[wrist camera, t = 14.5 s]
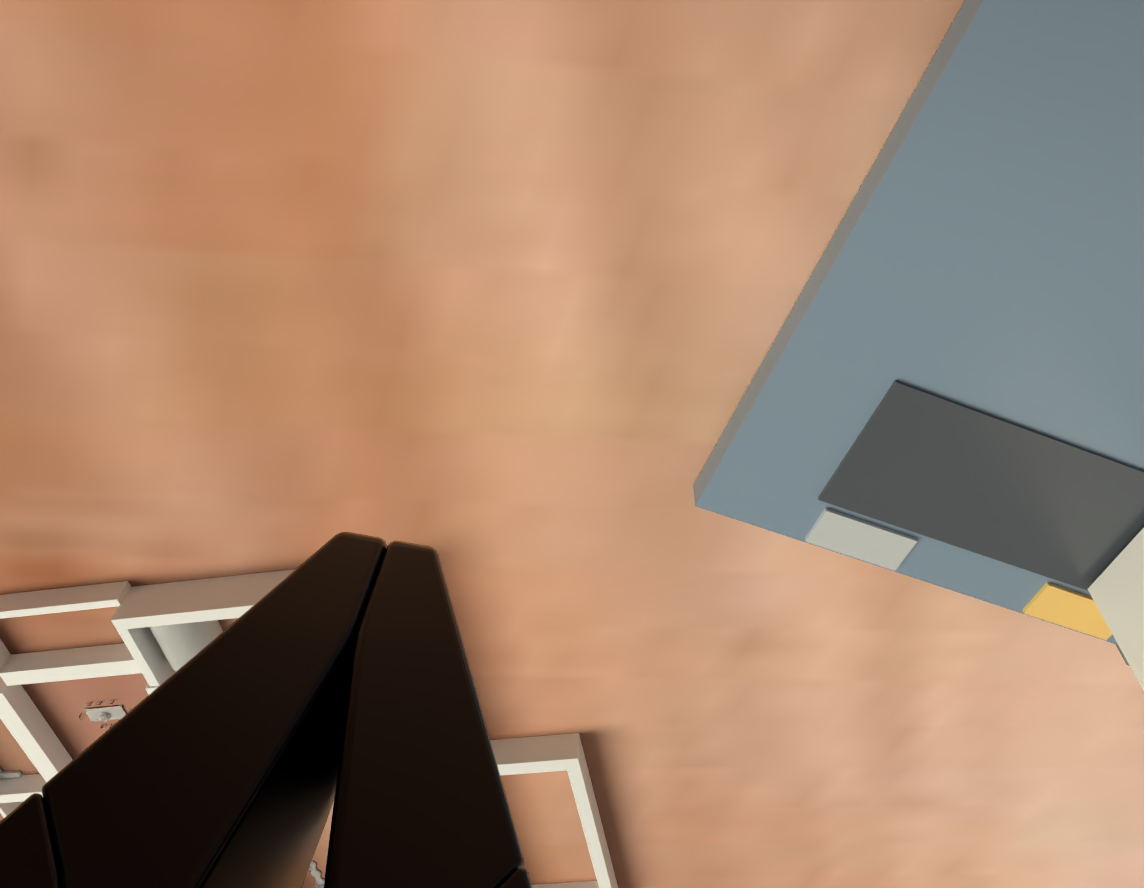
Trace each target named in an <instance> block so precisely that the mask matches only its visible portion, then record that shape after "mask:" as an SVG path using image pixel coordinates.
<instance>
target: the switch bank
mask: <svg viewBox="0 0 1144 888" xmlns="http://www.w3.org/2000/svg"><path fill="white" fill-rule="evenodd" d="M693 487H694V497H695V506H697V507H700V508H703V509H706V510H709V511H712V512H715V513H718V514H721V515H724V516H727V517H730V518H733V519H736V520H739V521H742V522H746V523H749V524H752V525H755V526H758V527H761V528H764V529H767V530H770V531H773V532H776V533H779V534H782V535H785V536H788V537H791V538H794V539H797V540H800V541H803V542H806V543H809V544H812V545H816V546H819V547H822V548H825V549H828V550H831V551H834V552H837V553H840V554H843V555H846V556H849V557H852V558H855V559H858V560H861V561H864V562H867V563H870V564H873V565H876V566H879V567H883V568H886V569H889V570H892V571H895V572H898V573H901V574H904V575H907V576H910V577H913V578H916V579H919V580H922V581H925V582H928V583H931V584H934V585H937V586H940V587H943V588H946V589H949V590H953V591H956V592H959V593H962V594H965V595H968V596H971V597H974V598H977V599H980V600H983V601H986V602H989V603H992V604H995V605H998V606H1001V607H1004V608H1007V609H1010V610H1013V611H1016V612H1020V613H1023V614H1026V615H1029V616H1032V617H1035V618H1038V619H1041V620H1044V621H1047V622H1050V623H1053V624H1056V625H1059V626H1062V627H1065V628H1068V629H1071V630H1074V631H1077V632H1080V633H1083V634H1086V635H1090V636H1093V637H1096V638H1099V639H1102V640H1105V641H1108V642H1111V643H1114V644H1116V646H1117V648H1118V650H1119V651H1120V653H1121V655H1122V657H1123V659H1124V661H1125V662H1126V664H1127V665H1129V664H1128V662H1127V660H1126V658H1125V656H1124V654H1123V653H1122V651H1121V649H1120V647H1119V645H1118V644H1117V642H1116V640H1115V638H1114V636H1113V635H1112V633H1111V631H1110V629H1109V627H1108V626H1107V624H1106V622H1105V620H1104V618H1103V616H1102V615H1101V613H1100V611H1099V609H1098V607H1097V606H1096V604H1095V602H1094V600H1093V598H1092V597H1091V595H1090V593H1089V591H1088V588H1089V587H1090V586H1091V585H1092V584H1093V583H1094V581H1095V580H1096V579H1097V578H1098V577H1099V576H1100V575H1101V574H1102V573H1103V572H1104V571H1105V569H1106V568H1107V567H1108V566H1109V565H1110V564H1111V563H1112V562H1113V561H1114V560H1115V558H1116V557H1117V556H1118V555H1119V554H1120V553H1121V552H1122V551H1123V550H1124V549H1125V548H1126V546H1127V545H1128V544H1129V543H1130V542H1131V541H1132V540H1133V539H1134V538H1135V537H1136V535H1137V534H1138V533H1139V532H1140V531H1141V530H1142V529H1143V528H1144V0H965V2H964V3H963V5H962V7H961V9H960V11H959V12H958V14H957V16H956V18H955V19H954V21H953V23H952V25H951V27H950V28H949V30H948V32H947V34H946V36H945V37H944V39H943V41H942V43H941V44H940V46H939V48H938V50H937V52H936V53H935V55H934V57H933V59H932V61H931V62H930V64H929V66H928V68H927V69H926V71H925V73H924V75H923V77H922V78H921V80H920V82H919V84H918V86H917V87H916V89H915V91H914V93H913V94H912V96H911V98H910V100H909V102H908V103H907V105H906V107H905V109H904V110H903V112H902V114H901V116H900V118H899V119H898V121H897V123H896V125H895V127H894V128H893V130H892V132H891V134H890V135H889V137H888V139H887V141H886V143H885V144H884V146H883V148H882V150H881V152H880V153H879V155H878V157H877V159H876V160H875V162H874V164H873V166H872V168H871V169H870V171H869V173H868V175H867V177H866V178H865V180H864V182H863V184H862V185H861V187H860V189H859V191H858V193H857V194H856V196H855V198H854V200H853V202H852V203H851V205H850V207H849V209H848V210H847V212H846V214H845V216H844V218H843V219H842V221H841V223H840V225H839V226H838V228H837V230H836V232H835V234H834V235H833V237H832V239H831V241H830V243H829V244H828V246H827V248H826V250H825V251H824V253H823V255H822V257H821V259H820V260H819V262H818V264H817V266H816V268H815V269H814V271H813V273H812V275H811V276H810V278H809V280H808V282H807V284H806V285H805V287H804V289H803V291H802V293H801V294H800V296H799V298H798V300H797V301H796V303H795V305H794V307H793V309H792V310H791V312H790V314H789V316H788V317H787V319H786V321H785V323H784V325H783V326H782V328H781V330H780V332H779V334H778V335H777V337H776V339H775V341H774V342H773V344H772V346H771V348H770V350H769V351H768V353H767V355H766V357H765V359H764V360H763V362H762V364H761V366H760V367H759V369H758V371H757V373H756V375H755V376H754V378H753V380H752V382H751V384H750V385H749V387H748V389H747V391H746V392H745V394H744V396H743V398H742V400H741V401H740V403H739V405H738V407H737V409H736V410H735V412H734V414H733V416H732V417H731V419H730V421H729V423H728V425H727V426H726V428H725V430H724V432H723V433H722V435H721V437H720V439H719V441H718V442H717V444H716V446H715V448H714V450H713V451H712V453H711V455H710V457H709V458H708V460H707V462H706V464H705V466H704V467H703V469H702V471H701V473H700V475H699V476H698V478H697V480H696V482H695V483H694V485H693ZM1129 666H1130V665H1129Z"/></svg>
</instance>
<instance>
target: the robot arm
mask: <svg viewBox="0 0 1144 888" xmlns="http://www.w3.org/2000/svg"><path fill="white" fill-rule="evenodd" d="M42 796H43V797H42ZM333 801H334V807H333V815H332V823H331V831H330V840H329V848H328V856H327V865H326V873H325V881H324V888H532V885H531V882H530V878H529V875H528V872H527V870H525V869H523V866H524V859H523V855H522V851H521V848H520V844H519V841H518V837H517V834H516V830H515V827H514V823H513V819H512V816H511V812H510V809H509V805H508V802H507V798H506V795H505V791H504V787H503V784H502V780H501V777H500V773H499V770H498V766H497V763H496V759H495V755H494V752H493V748H492V745H491V741H490V738H489V734H488V731H487V727H486V723H485V720H484V716H483V713H482V709H481V706H480V702H479V699H478V695H477V691H476V688H475V684H474V681H473V677H472V674H471V670H470V667H469V663H468V659H467V656H466V652H465V649H464V645H463V642H462V638H461V635H460V631H459V627H458V624H457V620H456V617H455V613H454V610H453V606H452V603H451V599H450V595H449V592H448V588H447V585H446V581H445V578H444V574H443V570H442V567H441V563H440V560H439V556H438V554H437V552H436V550H435V549H433V548H432V547H429V546H424V545H418V544H413V543H407V542H401V541H393V542H391V543H390V544H389V545H388V546H387V545H386V542H385V541H384V540H383V539H382V538H378V537H373V536H367V535H361V534H356V533H350V532H342V533H339V534H337V535H335V536H334V537H333V538H332V539H331V540H329V541H328V542H327V543H326V544H325V545H324V546H322V547H321V548H320V549H319V550H318V551H317V552H315V553H314V554H313V555H312V556H311V557H310V558H308V559H307V560H306V561H305V562H304V563H303V564H301V565H300V566H299V567H298V568H297V569H296V570H294V571H293V572H292V573H291V574H290V575H289V576H287V577H286V578H285V579H284V580H283V581H282V582H280V583H279V584H278V585H277V586H276V587H275V588H273V589H272V590H271V591H270V592H269V593H268V594H266V595H265V596H264V597H263V598H262V599H261V600H259V601H258V602H257V603H256V604H255V605H254V606H252V607H251V608H250V609H249V610H248V611H246V612H245V613H244V614H243V615H242V616H241V617H239V618H238V619H237V620H236V621H235V622H234V623H232V624H231V625H230V626H229V627H228V628H227V629H225V630H224V631H223V632H222V633H221V634H220V635H218V636H217V637H216V638H215V639H214V640H213V641H211V642H210V643H209V644H208V645H207V646H206V647H204V648H203V649H202V650H201V651H200V652H199V653H197V654H196V655H195V656H194V657H193V658H192V659H190V660H189V661H188V662H187V663H186V664H185V665H183V666H182V667H181V668H180V669H179V670H178V671H176V672H175V673H174V674H173V675H172V676H171V677H169V678H168V679H167V680H166V681H165V682H164V683H162V684H161V685H160V686H159V687H158V688H157V689H155V690H154V691H153V692H152V693H151V694H150V695H148V696H147V697H146V698H145V699H144V700H142V701H141V702H140V703H139V704H138V705H137V706H135V707H134V708H133V709H132V710H131V711H130V712H128V713H127V714H126V715H125V716H124V717H123V718H121V719H120V720H119V721H118V722H117V723H116V724H114V725H113V726H112V727H111V728H110V729H109V730H107V731H106V732H105V733H104V734H103V735H102V736H100V737H99V738H98V739H97V740H96V741H95V742H93V743H92V744H91V745H90V746H89V747H88V748H86V749H85V750H84V751H83V752H82V753H80V754H79V755H78V756H77V757H76V758H75V759H73V760H72V761H71V762H70V763H69V764H68V765H66V766H65V767H64V768H63V769H62V770H61V771H59V772H58V773H57V774H56V775H55V776H54V777H52V778H51V779H50V780H49V781H48V782H47V783H45V784H44V785H43V787H42V795H41V794H38V793H34V794H32V795H30V796H29V797H28V798H27V799H26V800H25V801H24V802H22V803H21V804H20V805H19V806H18V807H17V808H15V809H14V810H13V811H12V812H11V813H10V814H9V815H7V816H6V817H5V818H4V819H3V820H2V821H0V888H301V887H302V885H303V882H304V879H305V877H306V874H307V871H308V869H309V866H310V863H311V861H312V858H313V855H314V853H315V850H316V847H317V845H318V842H319V839H320V837H321V834H322V831H323V829H324V826H325V823H326V821H327V818H328V815H329V813H330V810H331V807H332V804H333Z"/></svg>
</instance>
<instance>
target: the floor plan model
mask: <svg viewBox="0 0 1144 888" xmlns="http://www.w3.org/2000/svg"><path fill="white" fill-rule="evenodd" d="M294 570H296V569H292V570H283V571H274V572H264V573H255V574H246V575H236V576H227V577H218V578H208V579H199V580H190V581H180V582H171V583H162V584H152V585H143V586H134V587H131V585H130V584H129V582H128V581H123V582H114V583H104V584H95V585H86V586H77V587H67V588H58V589H49V590H40V591H30V592H21V593H12V594H3V595H0V619H1V618H11V617H20V616H30V615H39V614H49V613H58V612H67V611H77V610H86V609H96V608H105V607H115V606H119V607H118V609H117V611H116V612H115V614H114V616H113V618H112V619H111V621H112V623H113V624H114V626H115V628H116V629H117V631H118V633H119V634H120V636H121V638H122V639H123V641H124V643H122V644H112V645H102V646H92V647H82V648H72V649H62V650H52V651H42V652H32V653H22V654H12V655H11V654H10V652H9V651H8V649H7V648H6V647H5V645H4V644H3V642H2V641H1V639H0V719H1V720H2V722H3V723H4V724H5V726H6V727H7V728H8V730H9V731H10V733H11V734H12V735H13V737H14V738H15V740H16V741H17V742H18V744H19V745H20V746H21V748H22V749H23V751H24V752H25V753H26V755H27V756H28V758H29V759H30V760H31V762H32V763H33V764H34V766H35V767H36V769H37V770H38V771H39V773H40V774H32V775H22V773H21V772H20V771H19V770H15V771H4V772H3V771H2V769H1V768H0V813H1V814H2V816H3V817H4V818H5V817H6V816H7V815H9V814H10V813H11V812H12V811H13V810H14V809H15V808H17V807H18V806H19V805H20V804H21V803H22V801H25V800H26V799H27V798H28V797H29V796H30V795H32V794H34V793H38V794H41V795H42V787H43V785H44V784H45V783H47V782H48V781H49V780H50V779H51V778H52V777H54V776H55V775H56V774H57V773H58V772H59V771H61V770H62V769H63V768H64V767H65V766H66V765H68V764H69V763H70V762H71V761H72V758H71V757H70V755H69V754H68V752H67V751H66V749H65V748H64V746H63V745H62V743H61V742H60V741H59V739H58V738H57V736H56V735H55V733H54V732H53V730H52V729H51V727H50V726H49V725H48V723H47V722H46V720H45V719H44V717H43V716H42V714H41V713H40V711H39V710H38V709H37V707H36V706H35V704H34V703H33V701H32V700H31V698H30V697H29V695H28V694H27V693H26V691H25V690H24V688H23V687H22V684H32V683H43V682H53V681H63V680H74V679H84V678H94V677H105V676H115V675H125V674H136V673H142V674H143V675H144V677H145V679H146V681H147V682H148V684H147V686H146V688H145V689H146V691H147V693H148V694H149V695H150V694H151V693H152V692H153V691H154V690H155V689H157V688H158V687H159V686H160V685H161V684H162V683H164V682H165V681H166V680H167V679H168V678H169V677H171V676H172V675H173V674H174V673H175V672H176V671H178V670H179V669H180V668H181V667H182V666H183V665H185V664H186V663H187V662H188V661H189V660H190V659H192V658H193V657H194V656H195V655H196V654H197V653H199V652H200V651H201V650H202V649H203V648H204V647H206V646H207V645H208V644H209V643H210V642H211V641H213V640H214V639H215V638H216V637H217V636H218V635H220V634H221V633H222V632H223V630H222V628H221V626H220V624H219V622H218V620H222V619H232V618H239V617H241V616H242V615H243V614H244V613H245V612H246V611H248V610H249V609H250V608H251V607H252V606H254V605H255V604H256V603H257V602H258V601H259V600H261V599H262V598H263V597H264V596H265V595H266V594H268V593H269V592H270V591H271V590H272V589H273V588H275V587H276V586H277V585H278V584H279V583H280V582H282V581H283V580H284V579H285V578H286V577H287V576H289V575H290V574H291V573H292V572H293V571H294ZM112 702H114V701H112ZM91 703H92V702H91ZM101 703H102V702H101ZM89 704H90V703H89ZM108 704H113V703H111V702H110V703H109V702H108ZM90 705H91V704H90ZM90 705H88V704H86V705H85V706H90ZM96 705H101V704H97V703H96ZM84 710H85V712H86V713H87V715H88V716H89V718H90V719H91V721H92V722H94V721H104V722H105V721H106V722H107V720H116V719H121V718H123V717H124V716H125V715H126V713H125V712H124V710H123V709H122V705H119V706H116V707H105V708H95V709H87V708H85V709H84ZM129 711H131V710H129ZM80 715H81V714H80ZM82 717H83V715H82ZM79 718H80V716H79ZM82 719H83V718H82ZM106 722H105V723H106ZM102 725H103V724H102ZM105 725H106V724H105ZM111 725H113V724H111ZM106 726H107V725H106ZM106 726H104V727H105V728H106ZM101 727H103V726H101ZM104 727H103V728H104ZM110 728H111V726H110ZM490 741H491V745H492V748H493V752H494V755H495V759H496V763H497V766H498V770H499V773H500V775H512V774H525V773H537V772H550V771H563V770H567V771H568V775H569V779H570V782H571V786H572V790H573V793H574V797H575V801H576V805H577V808H578V812H579V816H580V819H581V823H582V827H583V830H584V834H585V838H586V841H587V845H588V849H589V852H590V856H591V860H592V864H593V867H594V871H595V875H596V878H597V881H585V882H569V883H553V884H537V885H532V888H618V885H617V881H616V877H615V873H614V869H613V866H612V862H611V858H610V854H609V850H608V846H607V842H606V838H605V834H604V830H603V826H602V822H601V818H600V814H599V810H598V806H597V802H596V798H595V794H594V790H593V787H592V783H591V779H590V775H589V771H588V767H587V763H586V759H585V755H584V751H583V747H582V743H581V739H580V735H579V733H571V734H559V735H547V736H534V737H522V738H510V739H498V740H490ZM42 797H43V796H42ZM315 866H316V863H315V862H314V861H311V863H310V866H309V869H308V870H311V875H312V876H314V877H315V878H316V881H315V886H316V887H318V888H323V887H324V881H325V879H322V878H321V877H320V874H321V872H320V871H319V870H317V869H316V867H315Z"/></svg>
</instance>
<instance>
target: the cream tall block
mask: <svg viewBox="0 0 1144 888" xmlns="http://www.w3.org/2000/svg"><path fill="white" fill-rule="evenodd" d="M1088 591H1089V593H1090V595H1091V597H1092V598H1093V600H1094V602H1095V604H1096V606H1097V607H1098V609H1099V611H1100V613H1101V615H1102V616H1103V618H1104V620H1105V622H1106V624H1107V626H1108V627H1109V629H1110V631H1111V633H1112V635H1113V636H1114V638H1115V640H1116V642H1117V644H1118V645H1119V647H1120V649H1121V651H1122V653H1123V654H1124V656H1125V658H1126V660H1127V662H1128V664H1129V665H1130V667H1131V669H1132V671H1133V673H1134V674H1135V676H1136V678H1137V680H1138V682H1139V683H1140V685H1141V687H1142V689H1143V691H1144V528H1143V529H1142V530H1141V531H1140V532H1139V533H1138V534H1137V535H1136V537H1135V538H1134V539H1133V540H1132V541H1131V542H1130V543H1129V544H1128V545H1127V546H1126V548H1125V549H1124V550H1123V551H1122V552H1121V553H1120V554H1119V555H1118V556H1117V557H1116V558H1115V560H1114V561H1113V562H1112V563H1111V564H1110V565H1109V566H1108V567H1107V568H1106V569H1105V571H1104V572H1103V573H1102V574H1101V575H1100V576H1099V577H1098V578H1097V579H1096V580H1095V581H1094V583H1093V584H1092V585H1091V586H1090V587H1089V588H1088Z"/></svg>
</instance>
